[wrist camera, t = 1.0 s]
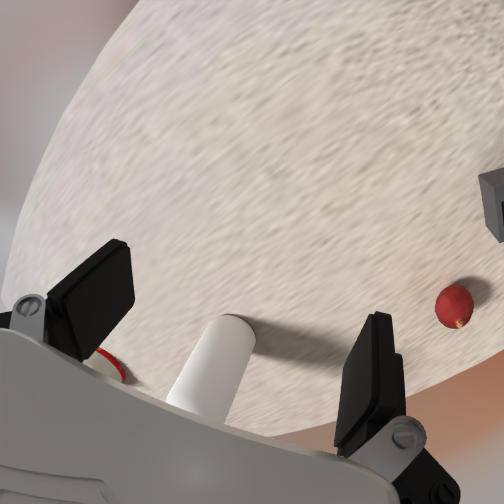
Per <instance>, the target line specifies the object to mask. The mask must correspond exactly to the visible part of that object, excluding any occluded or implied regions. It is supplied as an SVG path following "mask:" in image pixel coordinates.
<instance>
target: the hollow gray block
mask: <svg viewBox="0 0 504 504" xmlns="http://www.w3.org/2000/svg"><path fill="white" fill-rule="evenodd" d="M478 177H479V183H480V188H481V194H482V200H483V207H484V214H485V222H486V226H487V228H488V229H489V230H490V231H491V233H492V234H493V235H494V237H495V238H496V239H497V240H498V242H499V243H501V242H504V206H503V207H502V205H501V202H503V201H504V168H500V169H497V170H494V171H490V172H487V173H483V174H480V175H478Z"/></svg>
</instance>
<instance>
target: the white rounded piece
mask: <svg viewBox="0 0 504 504" xmlns="http://www.w3.org/2000/svg"><path fill="white" fill-rule="evenodd" d="M82 363H83V364H85V365H86V366H88V367H90V368H92V369H94V370H96V371H98V372H100V373H102V374H104V375H106V376H108V377H110V378H112V379H114V380H116V381H118V382H120V383H122V381H123V380H124V378H125V373H124V370H123V368H122V367H121V365H120V364H119V363H118V362H117V361H116V359H115V358H113V357H112V356H111V355H110V354H109V353H107V352H106V351H105V350H103V349H101V348H100V347H98V348H97V349H96V351H95V352H94V353H93V354H92V355H91V357H90V358H89V359H87V360H84V361H83V362H82Z"/></svg>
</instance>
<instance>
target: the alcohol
mask: <svg viewBox="0 0 504 504" xmlns="http://www.w3.org/2000/svg"><path fill="white" fill-rule="evenodd" d="M255 343H256V338H255V334H254V332H253V330H252V328H251V327H250V325H249V324H248V323H246V322H245V321H244V320H242V319H240V318H238V317H235V316H231V315H222V316H218V317H216V318H213V319H212V320H211V321H210V322H209V323H208V325H207V327H206V329H205V330H204V332H203V334H202V336H201V338H200V339H199V341H198V343H197V345H196V346H195V348H194V350H193V352H192V353H191V355H190V357H189V359H188V360H187V362H186V364H185V366H184V367H183V369H182V371H181V373H180V375H179V376H178V378H177V380H176V382H175V383H174V385H173V387H172V389H171V390H170V392H169V394H168V396H167V399H166V403H168V404H170V405H173V406H175V407H178V408H181V409H183V410H186V411H188V412H191V413H194V414H197V415H199V416H202V417H205V418H208V419H210V420H213V421H216V422H219V423H222V424H224V422H225V420H226V417H227V415H228V412H229V410H230V407H231V405H232V402H233V400H234V397H235V395H236V392H237V390H238V387H239V385H240V382H241V380H242V377H243V374H244V372H245V369H246V367H247V364H248V362H249V359H250V356H251V354H252V351H253V349H254V346H255Z"/></svg>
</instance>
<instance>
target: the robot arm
mask: <svg viewBox="0 0 504 504" xmlns="http://www.w3.org/2000/svg"><path fill="white" fill-rule="evenodd" d="M47 296H48V298H47V299H46V300H45V299H44V298H43V297H42V296H40V295H37V294H29V295H25V296H23V297H21V298H20V299H19V300H17V302H16V303H15V304H14V307H13V310H12V311H10V312H4V313H0V504H459V501H460V489H459V485H458V484H457V483H456V481H455V480H454V479H453V478H452V477H451V476H450V475H449V474H448V473H447V472H446V471H445V469H444V468H443V467H442V466H441V465H440V464H439V463H438V462H437V461H436V460H435V459H434V458H433V457H432V456H431V455H430V453H429V452H428V451H427V450H426V449H425V448H424V446H425V444H426V439H427V437H426V431H425V429H424V427H423V426H422V425H421V423H420V422H419V421H418V420H416V419H415V418H412V417H410V416H406V401H405V383H404V370H403V359H402V355H401V354H398V353H395V346H394V335H393V325H392V317H391V315H390V314H386V313H382V312H378V311H376V312H375V313H374V315H373V314H369V316H368V317H367V320H366V322H365V324H364V326H363V328H362V330H361V332H360V334H359V336H358V338H357V340H356V342H355V344H354V346H353V348H352V350H351V352H350V354H349V356H348V358H347V360H346V362H345V364H344V368H343V374H342V384H341V393H340V402H339V410H338V418H337V425H336V432H335V439H334V447H338V451H337V455H335V454H331V453H327V452H323V451H318V450H315V449H311V448H307V447H303V446H299V445H295V444H291V443H287V442H283V441H279V440H276V439H272V438H269V437H265V436H261V435H258V434H254V433H251V432H248V431H244V430H241V429H238V428H235V427H231V426H228V425H225V424H222V423H219V422H216V421H213V420H210V419H208V418H205V417H202V416H199V415H197V414H194V413H191V412H188V411H186V410H183V409H181V408H178V407H175V406H173V405H170V404H168V403H165V402H163V401H161V400H158V399H156V398H154V397H151V396H149V395H147V394H144V393H142V392H140V391H138V390H135V389H133V388H131V387H129V386H127V385H125V384H122V383H120V382H118V381H116V380H114V379H112V378H110V377H108V376H106V375H104V374H102V373H100V372H98V371H96V370H94V369H92V368H90V367H88V366H86V365H85V364H83V363H82V362H83V361H84V360H87V359H89V358H90V357H91V355H92V354H93V353H94V352H95V351H96V349H97V348H98V347H99V346H100V344H101V343H102V342H103V341H104V340H105V338H106V337H107V336H108V335H109V334H110V332H111V331H112V330H113V329H114V328H115V327H116V325H117V324H118V323H119V322H120V321H121V319H122V318H123V317H124V316H125V315H126V314H127V312H128V311H129V310H130V309H131V308H132V307H133V305H134V302H135V294H134V285H133V276H132V265H131V254H130V248H129V247H128V246H127V243H126V242H124V241H120V240H117V239H111V240H110V241H109V242H107V243H106V244H105V245H104V246H102V247H101V248H100V249H99V250H97V251H96V252H95V253H94V254H93V255H91V256H90V257H89V258H88V259H86V260H85V261H84V262H83V263H82V264H80V265H79V266H78V267H77V268H76V269H74V270H73V271H72V272H71V273H70V274H68V275H67V276H66V277H65V278H64V279H63V280H62V281H60V282H59V283H58V284H57V285H56V286H55V287H53V288H52V289H51V290H50V291H49V292H48V293H47ZM341 456H343V457H341Z"/></svg>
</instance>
